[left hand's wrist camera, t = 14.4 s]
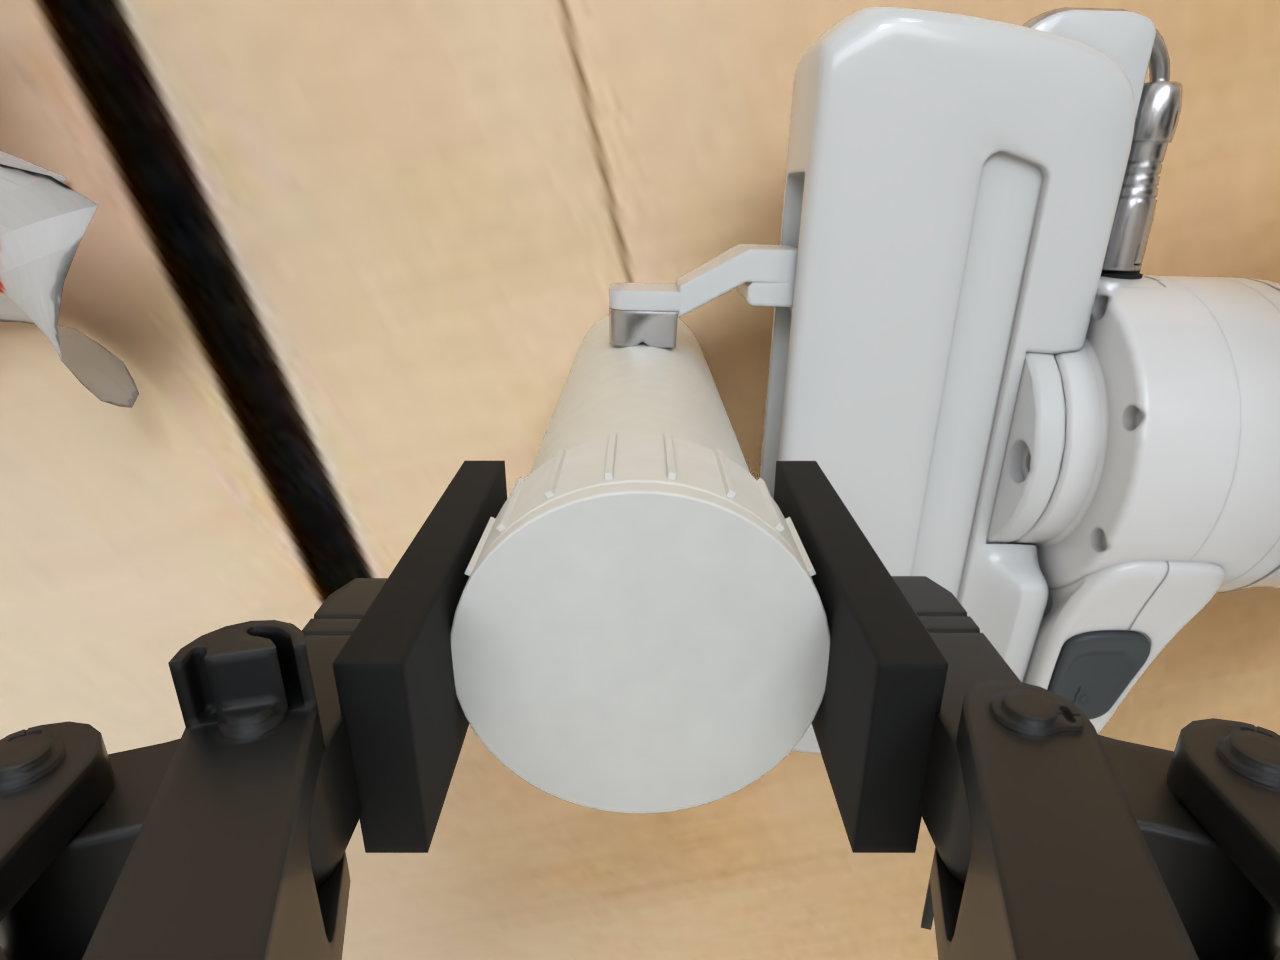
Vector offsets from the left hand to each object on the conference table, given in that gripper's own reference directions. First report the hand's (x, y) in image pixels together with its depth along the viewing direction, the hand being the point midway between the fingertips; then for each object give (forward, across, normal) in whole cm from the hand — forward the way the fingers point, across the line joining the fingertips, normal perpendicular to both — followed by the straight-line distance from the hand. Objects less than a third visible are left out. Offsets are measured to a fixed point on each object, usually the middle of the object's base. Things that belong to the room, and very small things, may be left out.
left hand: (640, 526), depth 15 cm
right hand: (+7, -1, 0) cm, 7 cm away
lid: (-4, 0, 0) cm, 4 cm away
